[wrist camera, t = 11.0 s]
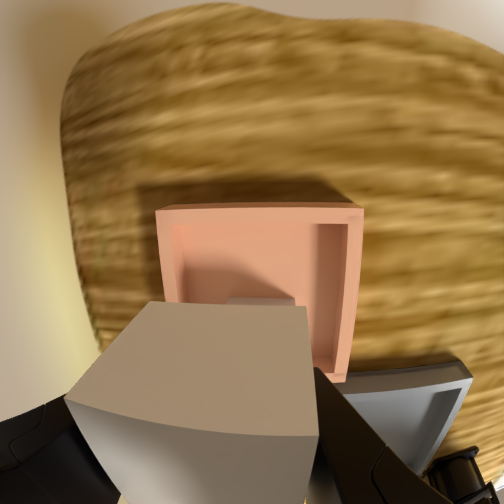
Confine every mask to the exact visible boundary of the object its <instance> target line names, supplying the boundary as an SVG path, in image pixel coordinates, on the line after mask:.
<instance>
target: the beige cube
mask: <svg viewBox="0 0 504 504" xmlns="http://www.w3.org/2000/svg"><path fill="white" fill-rule="evenodd" d="M64 400H65V402H66V404H67V406H68V408H69V410H70V412H71V414H72V416H73V418H74V420H75V422H76V424H77V425H78V427H79V429H80V431H81V433H82V434H83V436H84V438H85V440H86V441H87V443H88V445H89V446H90V448H91V450H92V451H93V453H94V455H95V456H96V458H97V459H98V461H99V462H100V464H101V466H102V467H103V469H104V470H105V472H106V473H107V475H108V476H109V477H110V479H111V480H112V482H113V483H114V485H115V486H116V487H117V489H118V490H119V491H120V493H121V494H122V495H123V497H124V498H125V499H126V501H127V502H128V503H129V504H304V500H305V496H306V492H307V488H308V484H309V480H310V475H311V471H312V467H313V462H314V457H315V453H316V448H317V443H318V438H319V429H318V416H317V404H316V393H315V382H314V372H313V362H312V352H311V343H310V334H309V325H308V317H307V309H306V306H264V305H224V304H198V303H177V302H159V301H149V302H148V304H147V305H146V306H145V307H144V308H143V309H142V310H141V311H140V312H139V313H138V314H137V315H136V317H135V318H134V319H133V320H132V321H131V322H130V323H129V324H128V325H127V326H126V327H125V329H124V330H123V331H122V332H121V333H120V334H119V335H118V336H117V337H116V338H115V340H114V341H113V342H112V343H111V344H110V345H109V346H108V347H107V348H106V350H105V351H104V352H103V353H102V354H101V355H100V356H99V357H98V359H97V360H96V361H95V362H94V363H93V364H92V366H91V367H90V368H89V369H88V370H87V371H86V372H85V374H84V375H83V376H82V377H81V378H80V379H79V381H78V382H77V383H76V384H75V385H74V386H73V387H72V389H71V390H70V391H69V392H68V393H67V394H66V396H65V397H64Z"/></svg>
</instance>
